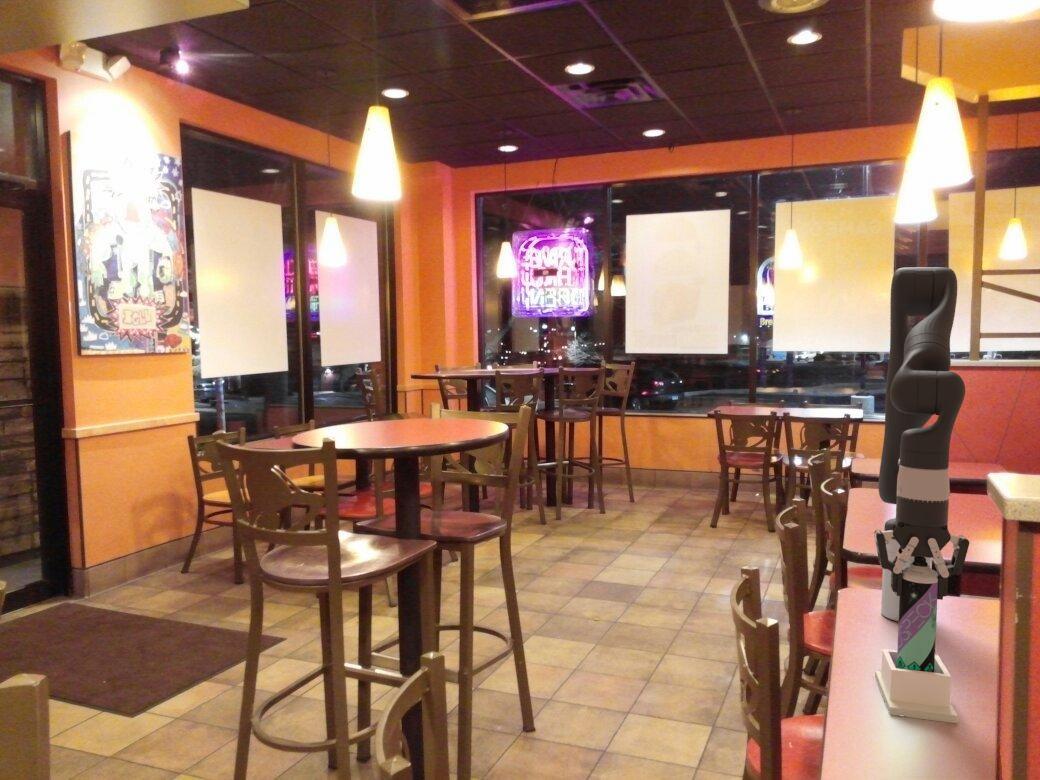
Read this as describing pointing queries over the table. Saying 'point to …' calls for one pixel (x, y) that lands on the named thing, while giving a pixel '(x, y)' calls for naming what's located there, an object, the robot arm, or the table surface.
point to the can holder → (916, 690)
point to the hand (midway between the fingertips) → (918, 595)
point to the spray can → (917, 617)
